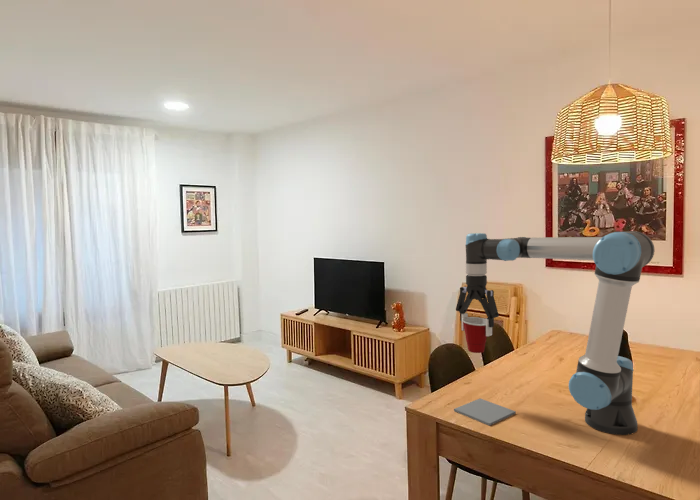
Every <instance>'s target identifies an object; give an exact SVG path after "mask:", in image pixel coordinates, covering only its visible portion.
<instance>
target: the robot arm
mask: <svg viewBox="0 0 700 500" xmlns="http://www.w3.org/2000/svg"><path fill="white" fill-rule="evenodd" d="M654 255H655V245H654V243H653V241H652V239H651V238H650V237H649V236H648V235H646V234H644V233H643V232H640V231H635V230H628V231H614V232H610V233H608V234H606V235H603V236H595V237H594V236H593V237H591V236H589V237H588V236H586V237H585V236H584V237H583V236H579V237H575V236H574V237H562V236H561V237H556V236H555V237H551V236H550V237H547V236H546V237H545V236H544V237H525V236H520V237H511V238H509V237H508V238H488V236H487V233H484V232H483V233H481V232H478V233H477V232H475V233H472V232H471V233H468V234H466V236H465V260H466V261H465V274H466V275H465V284H466V286H461V287H459V296H458V299H457V303H456V307H455V311H456V312H458V313H459V318H460V319H459V320H460V322H461V331H463V332H465V329H464V325H463V322H462V319H463V318H466V317H469V315H468V311H467V310H468V309H469V307H470V305H471V303H472V301H474V300H477V301H478V302H479V303H480V304H481V307H482V308H483V311H484V313H485V315H486V318H485V319H486V336H487V337H490V336H492V335H493V328H494V327H495V321H494V320H495V318H498V317H499V311H498V307H497V304H496V300H495V297H494V295H495V294H494V293H495V291H494V290H493V289H491V290H489V289H487V284H488V278H487V273H488V271H487V269H488V266H487V263H488V262H487V260H494V261H503V262H507V261H512V262H513V261H515V260H517V259H522V258H523V259H551V260H553V259H555V260H556V259H557V260H583V261H593V262H594V264H595V270H594V275H595V277H596V279H598V285H597V290H596V293H595V294H596V295H595V300H594V301H595V302H594V306H593V311H592V315H591V320H590V321H591V322H590V327H589V332H588V339H587V344H586V348H585V353H584V354H583V355H582V356H579V357H578V360H577V366H576V371H575V373H573V375H571V377H570V379H569V381H568V391H569V393H570V396H571V397H573V399H574V401H575V402H576V403H577V404H579V405H580V406H581V407H583V408H586V411H585V412H584V422H585V423H586V424H587V425H588V426H589V427H591V428H592V429H594V430H597V431H599V432H603V433H607V434H612V435H619V436H627V435H628V434H629V435H633V434H635V433H637V431H638V420H637V417H636V414H635V412H634V411H635V410H634V407H633V384H634V383H633V382H634V381H633V380H634V376H633V375H634V371H635V370H634V365H633V361H632V360H631V359H629V358H627V357H625V356H624V357H623V356H620V355H619V353H620V348H621V343H622V338H623V337H622V336H623V333H624V327H625V323H626V318H627V313H628V307H629V304H630V299H631V294H632V293H631V292H632V287H633V286H634V285H636V284H638V283H639V282H640V279H641V274H642V270H643V267H645V266H647V265H648V264H650V262H651V261H652V260H653V259H654ZM632 433H633V434H632Z"/></svg>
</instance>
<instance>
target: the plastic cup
mask: <svg viewBox="0 0 700 500" xmlns="http://www.w3.org/2000/svg"><path fill="white" fill-rule="evenodd" d="M462 322H463V325H464V329H465V331H464V333H465V334H464V335H465V341H466V345H467V350H468V352H470V353H475V354H480V353H484V352H485V349H486V343H487V338H488V336H486V318H484V317H483V318H482V317H478V316H477V317H476V316H468V317H466V318H463V319H462V321H461V323H462Z"/></svg>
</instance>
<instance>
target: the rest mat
mask: <svg viewBox="0 0 700 500" xmlns="http://www.w3.org/2000/svg"><path fill="white" fill-rule="evenodd" d="M453 411H454V412H455V413H458V414H460V415H463V416H465V417H467V418H470V419H472V420H475V421H477V422H479V423H482V424H484V425H487V426H493V425H494V424H496V423H499V422H501V421H502V420H505V419H507V418H509V417H511V416H513V415H515V414H517V413H516V410H513V409H510V408H508V407H505V406H501V405H499V404H497V403H494V402H491V401H488V400H486V399H484V398H477V399H475V400H473V401H470V402H467V403H465V404H462V405H460V406H458V407H455V408H453Z"/></svg>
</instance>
